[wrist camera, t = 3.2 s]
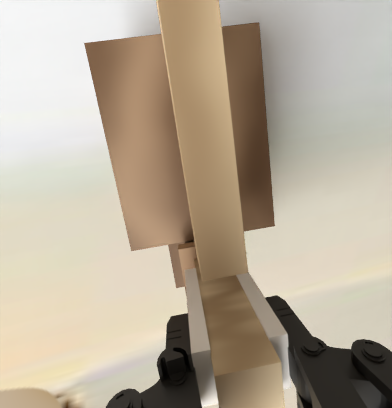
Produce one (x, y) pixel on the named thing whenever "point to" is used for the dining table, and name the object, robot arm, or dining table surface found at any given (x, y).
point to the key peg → (236, 342)
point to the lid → (188, 134)
